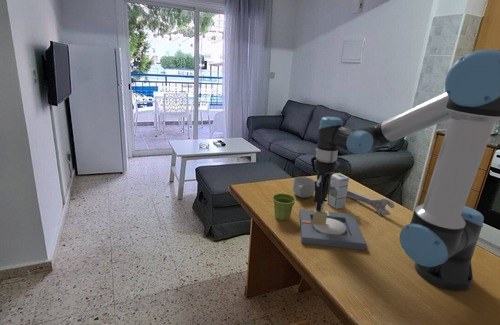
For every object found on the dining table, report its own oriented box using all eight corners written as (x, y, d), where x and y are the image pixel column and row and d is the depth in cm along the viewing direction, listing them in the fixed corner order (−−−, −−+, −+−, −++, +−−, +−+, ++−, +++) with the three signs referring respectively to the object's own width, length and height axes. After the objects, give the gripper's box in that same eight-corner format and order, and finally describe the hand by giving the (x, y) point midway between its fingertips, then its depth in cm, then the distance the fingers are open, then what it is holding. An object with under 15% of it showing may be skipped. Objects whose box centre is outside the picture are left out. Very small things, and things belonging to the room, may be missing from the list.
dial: (345, 223, 120) (347, 210, 118) (345, 238, 109) (347, 224, 107) (313, 217, 123) (315, 204, 121) (310, 232, 112) (312, 218, 110)
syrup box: (345, 207, 136) (350, 177, 132) (335, 209, 134) (339, 179, 129) (336, 202, 141) (340, 173, 136) (326, 204, 138) (330, 174, 134)
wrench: (342, 198, 153) (393, 219, 126) (339, 198, 152) (390, 220, 126) (343, 183, 151) (395, 200, 125) (340, 183, 150) (392, 201, 124)
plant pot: (298, 217, 125) (300, 198, 122) (284, 225, 118) (286, 205, 116) (280, 209, 131) (281, 191, 128) (266, 216, 124) (267, 197, 122)
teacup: (298, 189, 154) (300, 174, 151) (318, 195, 148) (320, 180, 145) (284, 197, 143) (286, 182, 140) (305, 204, 137) (307, 188, 135)
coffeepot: (339, 188, 157) (344, 155, 152) (333, 194, 150) (338, 159, 144) (312, 181, 165) (315, 149, 160) (304, 186, 158) (308, 153, 152)
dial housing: (365, 250, 105) (366, 243, 104) (301, 243, 107) (302, 236, 106) (352, 219, 125) (353, 213, 125) (299, 214, 128) (299, 208, 127)
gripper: (321, 153, 117) (314, 208, 125) (309, 161, 107) (303, 220, 114) (341, 157, 114) (332, 213, 121) (330, 166, 103) (322, 226, 111)
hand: (318, 216), depth 118 cm, fingers closed
